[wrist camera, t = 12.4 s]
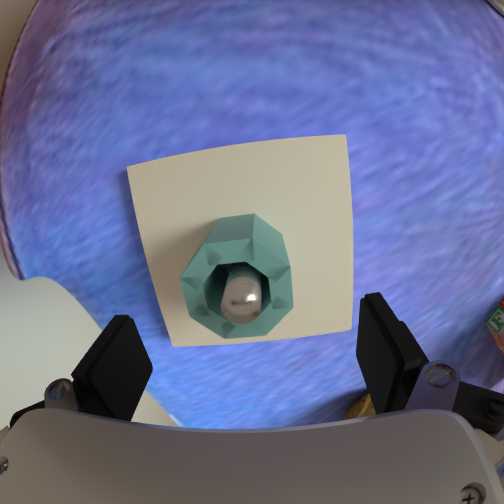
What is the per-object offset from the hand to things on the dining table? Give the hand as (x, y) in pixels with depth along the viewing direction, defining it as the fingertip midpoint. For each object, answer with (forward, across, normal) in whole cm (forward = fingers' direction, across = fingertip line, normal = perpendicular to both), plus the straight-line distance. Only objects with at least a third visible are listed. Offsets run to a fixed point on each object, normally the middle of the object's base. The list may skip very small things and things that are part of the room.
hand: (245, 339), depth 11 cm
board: (+13, +1, +1) cm, 13 cm away
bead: (+11, +1, +1) cm, 11 cm away
